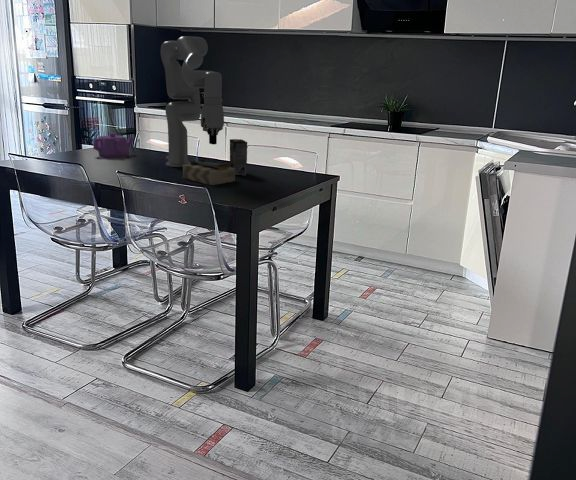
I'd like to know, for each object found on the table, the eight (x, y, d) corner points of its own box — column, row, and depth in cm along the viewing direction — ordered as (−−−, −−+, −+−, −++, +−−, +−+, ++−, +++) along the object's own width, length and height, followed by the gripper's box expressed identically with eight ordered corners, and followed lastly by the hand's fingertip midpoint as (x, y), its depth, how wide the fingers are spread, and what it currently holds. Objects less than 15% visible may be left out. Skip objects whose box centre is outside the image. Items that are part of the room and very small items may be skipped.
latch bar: (194, 164, 256) (194, 162, 256) (200, 163, 259) (200, 161, 259) (217, 167, 246) (217, 165, 246) (223, 166, 249) (223, 164, 249)
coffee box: (229, 172, 273) (229, 139, 268) (241, 171, 275) (242, 138, 270) (234, 175, 265) (234, 141, 260) (247, 175, 267) (247, 141, 262)
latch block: (182, 177, 256) (182, 159, 253) (206, 174, 266) (206, 156, 263) (211, 185, 243) (211, 166, 241) (235, 181, 253) (235, 162, 251)
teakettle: (92, 157, 299) (90, 134, 295) (106, 152, 315) (104, 130, 311) (122, 159, 297) (121, 135, 293) (135, 154, 313) (133, 132, 309)
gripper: (220, 100, 250) (220, 141, 256) (193, 101, 239) (194, 144, 245) (231, 101, 245) (231, 143, 251) (205, 102, 235) (205, 146, 240)
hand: (212, 143), depth 248 cm, fingers closed
